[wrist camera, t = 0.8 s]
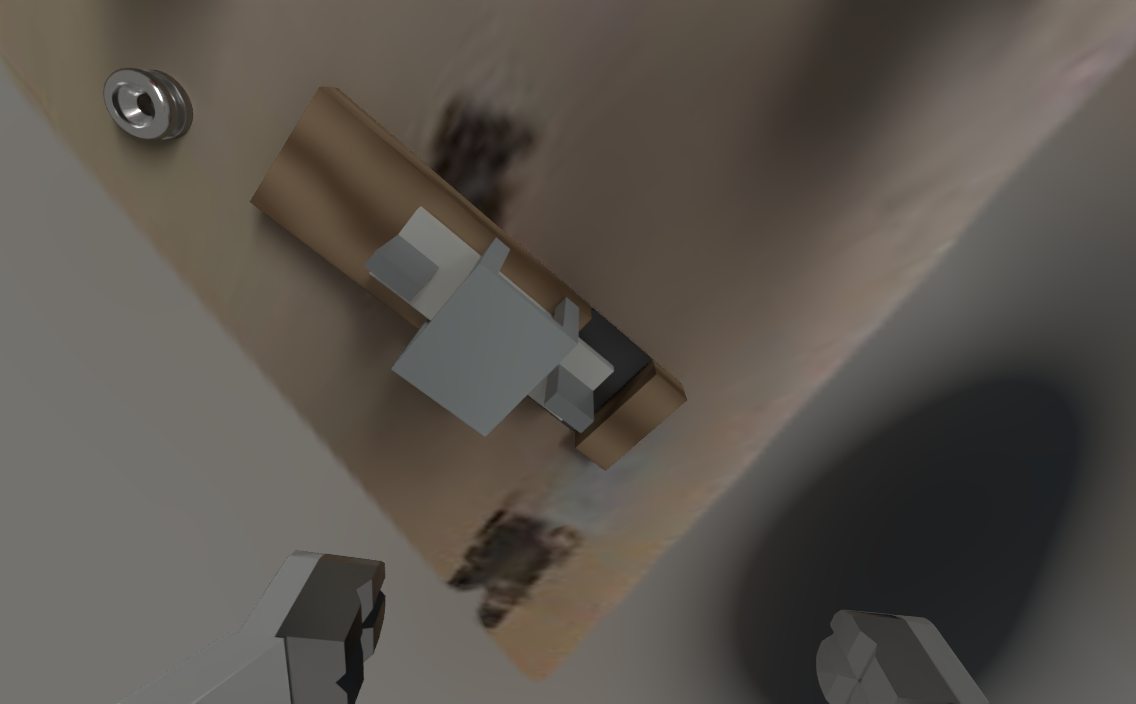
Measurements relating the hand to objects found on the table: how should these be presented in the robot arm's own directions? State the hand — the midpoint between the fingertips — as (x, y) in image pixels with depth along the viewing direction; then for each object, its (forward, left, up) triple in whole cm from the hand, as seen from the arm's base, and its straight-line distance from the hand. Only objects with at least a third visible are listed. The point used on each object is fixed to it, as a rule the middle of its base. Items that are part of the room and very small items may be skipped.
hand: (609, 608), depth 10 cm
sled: (+12, 0, -36) cm, 38 cm away
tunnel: (+12, 0, -36) cm, 38 cm away
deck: (+12, -1, -39) cm, 41 cm away
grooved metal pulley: (+17, -31, -40) cm, 53 cm away
